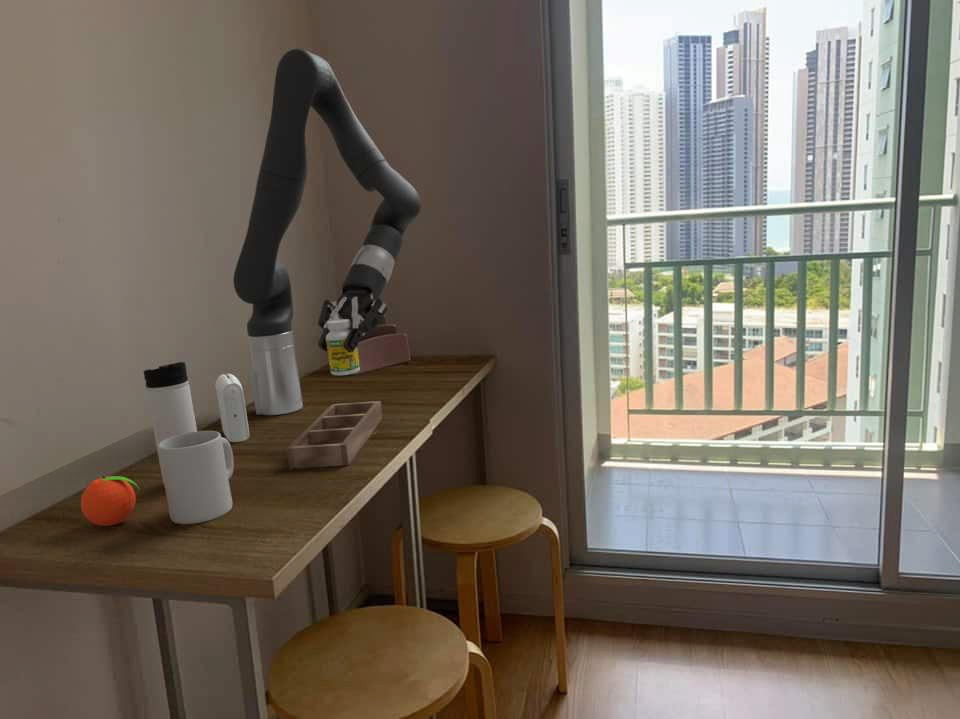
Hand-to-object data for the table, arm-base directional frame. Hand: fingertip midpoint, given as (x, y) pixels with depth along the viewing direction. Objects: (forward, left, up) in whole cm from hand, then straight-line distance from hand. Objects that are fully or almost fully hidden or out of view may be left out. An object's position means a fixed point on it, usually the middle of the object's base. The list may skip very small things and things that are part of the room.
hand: (335, 349), depth 132 cm
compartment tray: (-1, -1, -17) cm, 17 cm away
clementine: (-25, -34, -17) cm, 45 cm away
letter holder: (-10, +68, -17) cm, 70 cm away
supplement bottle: (+1, +2, -5) cm, 5 cm away
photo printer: (-24, +7, -17) cm, 30 cm away
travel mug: (-22, -19, -17) cm, 34 cm away
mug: (-13, -30, -17) cm, 37 cm away
